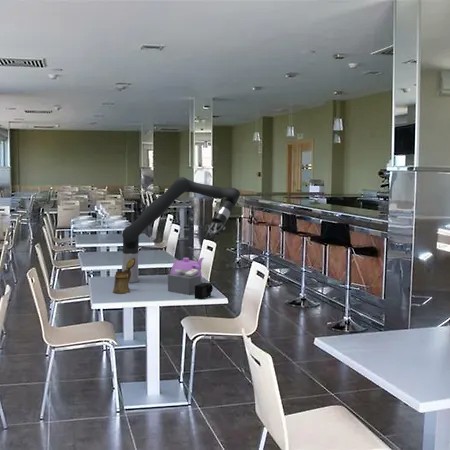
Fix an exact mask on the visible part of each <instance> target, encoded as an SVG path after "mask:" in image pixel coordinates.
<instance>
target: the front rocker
mask: <svg viewBox="0 0 450 450" xmlns="http://www.w3.org/2000/svg"><path fill="white" fill-rule="evenodd" d="M197 272H199V271H198V270H196V269H192V270H190V271H188V272H186V273H185V275H187V276H192V275H195V274H196V273H197Z"/></svg>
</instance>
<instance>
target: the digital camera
mask: <svg viewBox="0 0 450 450" xmlns="http://www.w3.org/2000/svg"><path fill="white" fill-rule="evenodd" d="M213 290H214V287H213V284H212V283H210V282H202V283H201V284H198V285H196V286H195V293H194V299H197V300H203V299H206V298H208V296H209V297H211V296H212V292H213Z"/></svg>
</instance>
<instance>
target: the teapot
mask: <svg viewBox="0 0 450 450" xmlns="http://www.w3.org/2000/svg"><path fill="white" fill-rule="evenodd" d="M204 259H205V257H200V258H199V259H198V261H195V260H191V259H190V258H189V257H183V258H182V260H175V261H174V262H173V264H172V267H171V270H170V273H169V275H171V274H176V273H178V272H177V271H175V269H179V270H186V271H190V270H192V269H196V270H198V271H199V272H197V273H196V274H195V275H198V276H201V279H203V277H202V262H203V260H204Z"/></svg>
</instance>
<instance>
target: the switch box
mask: <svg viewBox="0 0 450 450" xmlns="http://www.w3.org/2000/svg"><path fill="white" fill-rule="evenodd" d="M201 280H202V278H201V276H198V275H192V276H187V275H185V273H184V274H183V273H176V274H171V275H170V274H167V291H168V292H170V293H171V292H172V293H176V294H182V295H187V296H188V295H189V296H191V295H195V286H196V285H198V284H201Z"/></svg>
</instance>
